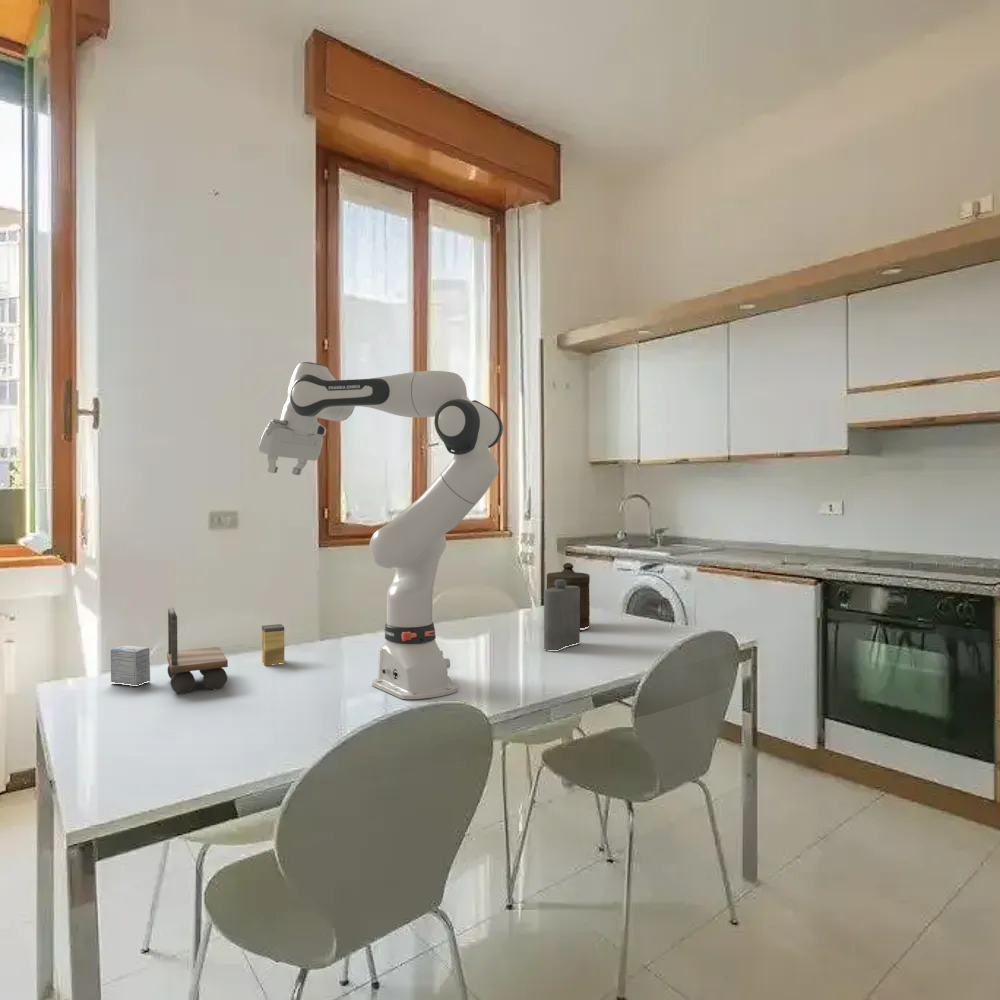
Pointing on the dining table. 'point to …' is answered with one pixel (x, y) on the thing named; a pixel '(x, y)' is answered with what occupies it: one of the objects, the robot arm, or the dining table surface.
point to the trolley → (193, 662)
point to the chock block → (272, 644)
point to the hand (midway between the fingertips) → (284, 473)
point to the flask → (561, 616)
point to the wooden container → (574, 580)
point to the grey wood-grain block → (130, 665)
